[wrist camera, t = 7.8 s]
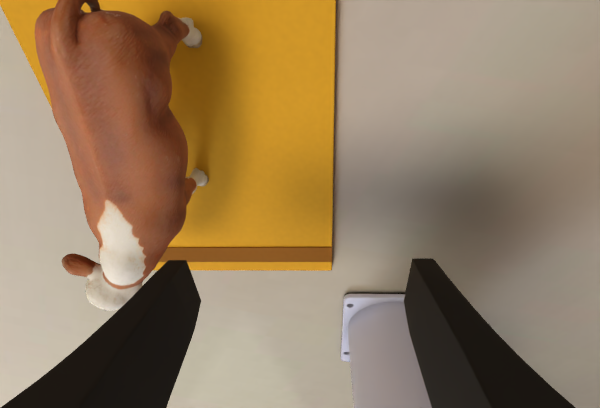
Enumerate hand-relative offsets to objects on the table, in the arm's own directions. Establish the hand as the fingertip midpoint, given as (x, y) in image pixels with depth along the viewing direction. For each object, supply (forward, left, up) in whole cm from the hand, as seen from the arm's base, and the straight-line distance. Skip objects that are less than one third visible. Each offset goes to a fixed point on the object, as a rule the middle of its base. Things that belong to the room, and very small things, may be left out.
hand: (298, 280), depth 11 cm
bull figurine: (+2, +7, -9) cm, 12 cm away
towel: (0, +6, -10) cm, 12 cm away
